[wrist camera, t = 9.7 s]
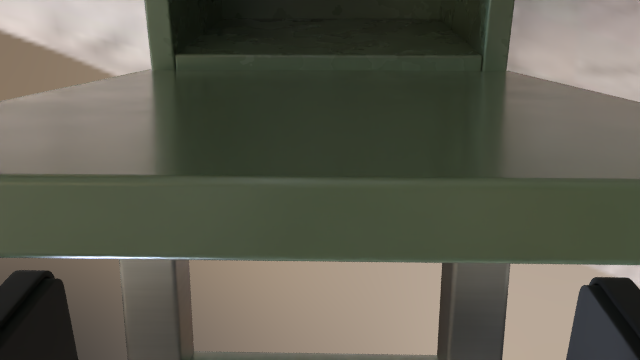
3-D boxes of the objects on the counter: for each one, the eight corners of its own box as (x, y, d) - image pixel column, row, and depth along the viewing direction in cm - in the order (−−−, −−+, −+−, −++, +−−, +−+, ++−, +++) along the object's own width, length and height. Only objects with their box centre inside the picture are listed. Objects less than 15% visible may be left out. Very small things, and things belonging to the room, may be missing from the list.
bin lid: (-348, 173, 5) (-226, 618, 7) (995, 184, 5) (863, 648, 6) (147, 69, 19) (157, 217, 20) (510, 70, 19) (498, 221, 20)
